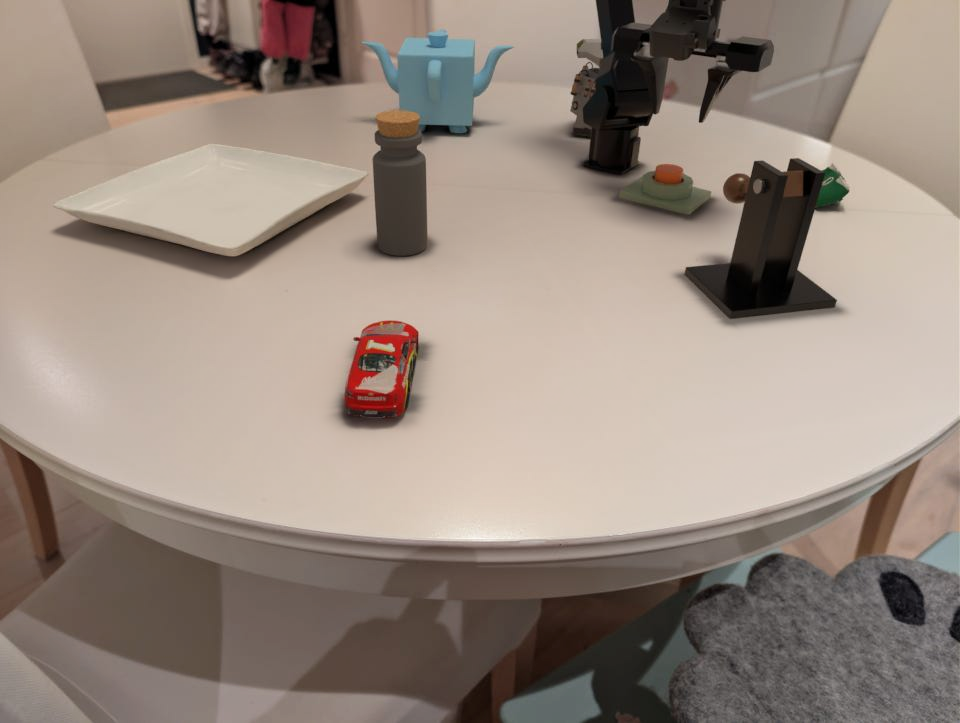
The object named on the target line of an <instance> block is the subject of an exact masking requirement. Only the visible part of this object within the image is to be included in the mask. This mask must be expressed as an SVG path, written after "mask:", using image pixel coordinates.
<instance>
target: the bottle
mask: <svg viewBox="0 0 960 723" xmlns="http://www.w3.org/2000/svg"><path fill="white" fill-rule="evenodd" d="M419 120H420V116H419V115H418V114H417V113H415V112H411V111H404V110H399V109H394V110H384V111H381V112H379V113H377V114H376V115H375V121H376V125H377V130H376V131H374V143H375V144H376V145H377V146H379V147H380V148H379V150H378V151H377V152H375V153H374V155H373V156H372V175H373V192H374V210H375V211H374V212H375V227H376V228H375V229H376V241H377V247H378V249H379V250H380V251H381V252H382V253H384V254H387V255H391V256H400V257H401V256H402V257H403V256H405V257H406V256H413V255H416V254H419V253H422V252H423V251H425V250H426V248H427V247H428V198H427V196H428V194H427V190H428V188H427V158H426V155H425V154H424V153H423V152H422V151H421V150H419V149H418V146H420V145H421V144H422V143H423V133H422V132H421V131H419V130H418V126H419Z"/></svg>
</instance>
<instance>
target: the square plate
mask: <svg viewBox="0 0 960 723" xmlns="http://www.w3.org/2000/svg"><path fill="white" fill-rule="evenodd" d="M368 176H369V171H367V170H364V169H363V170H362V169H357V168H351V167H347V166H343V165H337V164H333V163H328V162H323V161H319V160H314V159H309V158H303V157H298V156H294V155H293V156H292V155H287V154H282V153H278V152H277V153H276V152H271V151H264V150H259V149H252V148H246V147H238V146H231V145H225V144H219V143H208V144H205V145H203V146H199V147H197V148H195V149H191V150H188V151H185V152H182V153H179V154H176V155H173V156H170V157H167V158H165V159H161V160H160V161H159V160H158V161H156V162H152V163H150V164H147V165H144V166H142V167H139V168H136V169H133V170H131V171H129V172H126V173H123V174H121V175H118V176H115V177H113V178H111V179H107V180H106V181H103V182H101V183H98V184H96V185H94V186H92V187H89V188H86V189H84V190H82V191H80V192H77V193H75V194H73V195H70V196H67V197H65V198H62V199H60V200H57V201H56V202H54V203H53V205H52V206H53V208H55V209H58V210H62V211H63V212H65V213H66V214H68V215H70V216H72V217H74V218H77V219H79V220H81V221H85V222H87V223H91V224H96V225H99V226H102V227H103V226H104V227H106V228H107V227H108V228H111V229H116V230H120V231H124V232H127V233H131V234H135V235H139V236H144V237H146V238H147V237H148V238H152V239H156V240H160V241H164V242H169V243H173V244H177V245H181V246H185V247H188V248H193V249H195V250H200V251H201V252H207V253H211V254H215V255H219V256H225V257H238V256H240V255H243V254H245V253H247V252H249V251H251V250H253V248H257V247H258V246H260V245H262V244H264V243H265V242H267V241H270V240H271V239H272V238H274V237H275V236H277V235H279V234H280V233H282V232H284V231H286V230H288V229H289V228H291V227H293V226H295V225H296V224H298V223H300V222H302V221H303V220H305V219H306V218H308V217H310V216H312V215H313V214H316V213H318V212H319V211H321V210H322V209H324V208H325V207H326V206H328V205H330V204H332V203H334V202H336V201H338V200H340V199H341V198H343V197H344V196H347V195H348V194H350V193H351V192H353V191H354V190H356V189H357V188H358V187H359V186H360V185H361V184H362V182H363V181H364V180H365V179H366V177H368Z"/></svg>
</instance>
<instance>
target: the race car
mask: <svg viewBox="0 0 960 723" xmlns="http://www.w3.org/2000/svg"><path fill="white" fill-rule="evenodd" d="M353 341H354V342H357V345H356V348H355V351H354V355H353V359H352V362H351V365H350V368H349V371H348V375H347V378H346V381H345V384H344V385H345V387H344V407H345V411H346V413H347V414H348V415H349V416H354V418H360V417H361V418H376V419H377V418H382V419H383V418H385V419H391V418H392V417H393V418H396V417H399V416H400V415H402V414H403V413H404V412H405V411H406V409H407V408H408V406H409V403H410V393H411V391H412V390H411V389H412V384H413V380H414V373H415V367H416V363H417V359H418V358H417V357H418V353H419V330H418V329H416V327H415V326H413V325H411V324H409V323H406V322H403V321H400V320H389V319H388V320H380V321H377V322H373V323H370V324H368V325H367V326H366V327H364V328H363V329H362V330H361V334H360V336H359V337H358V336H355V337H353Z"/></svg>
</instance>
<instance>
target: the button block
mask: <svg viewBox="0 0 960 723" xmlns="http://www.w3.org/2000/svg"><path fill="white" fill-rule="evenodd" d="M654 177H655V170H649V171H647V172H645V173H644V174H642V176H641V177H639V178H638V179H636V180H634V182H632V183H630V184H629V185H627V186H626V187H624V188H623V189H621V190H620V191H619V194H618V198H619V199H623V200H627V201H631V202H635V203H639V204H643V205H648V206H650V207H656V208H660V209H664V210H666V211H667V210H668V211H671V212H675V213H680V214H683V215H687V216H690V215H691V214H692V213H693V212H695V211H696V210H697V209H698V208H699V207H701V206H702V205H704V203H705V202H707V200H709V199H710V198H711V196H712V191H711V190H708V189H704V188H699V187H694V180H693V178H692V177H691V176H689V175H687V174H685V173H683V175H682V181H681V183H678V184H665V183H660V182H657V181H655V180H654Z"/></svg>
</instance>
